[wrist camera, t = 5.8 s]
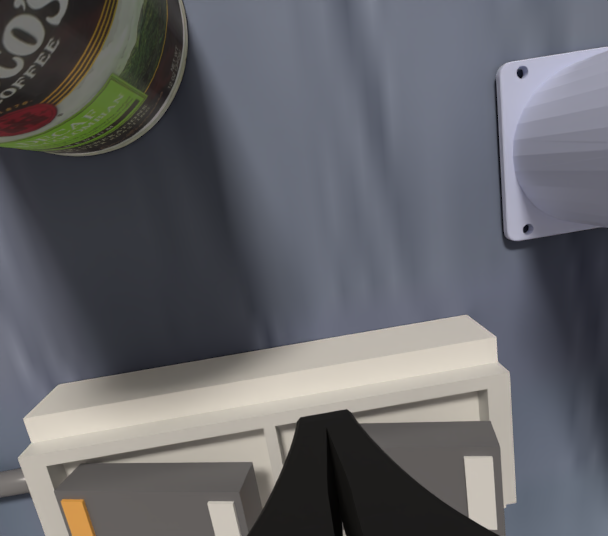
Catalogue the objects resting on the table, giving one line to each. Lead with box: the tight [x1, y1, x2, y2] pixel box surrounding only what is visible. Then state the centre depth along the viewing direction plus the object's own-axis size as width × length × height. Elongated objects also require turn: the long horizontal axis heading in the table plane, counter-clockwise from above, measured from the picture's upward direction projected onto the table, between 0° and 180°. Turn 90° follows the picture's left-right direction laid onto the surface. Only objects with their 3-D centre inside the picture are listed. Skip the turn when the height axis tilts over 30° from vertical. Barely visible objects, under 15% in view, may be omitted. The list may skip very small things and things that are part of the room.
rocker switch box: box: [0, 315, 516, 536], centre depth 20 cm, size 27×9×4 cm, turn 99°
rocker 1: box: [54, 462, 263, 536], centre depth 17 cm, size 8×4×2 cm, turn 99°
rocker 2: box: [342, 421, 505, 536], centre depth 18 cm, size 8×4×2 cm, turn 99°
